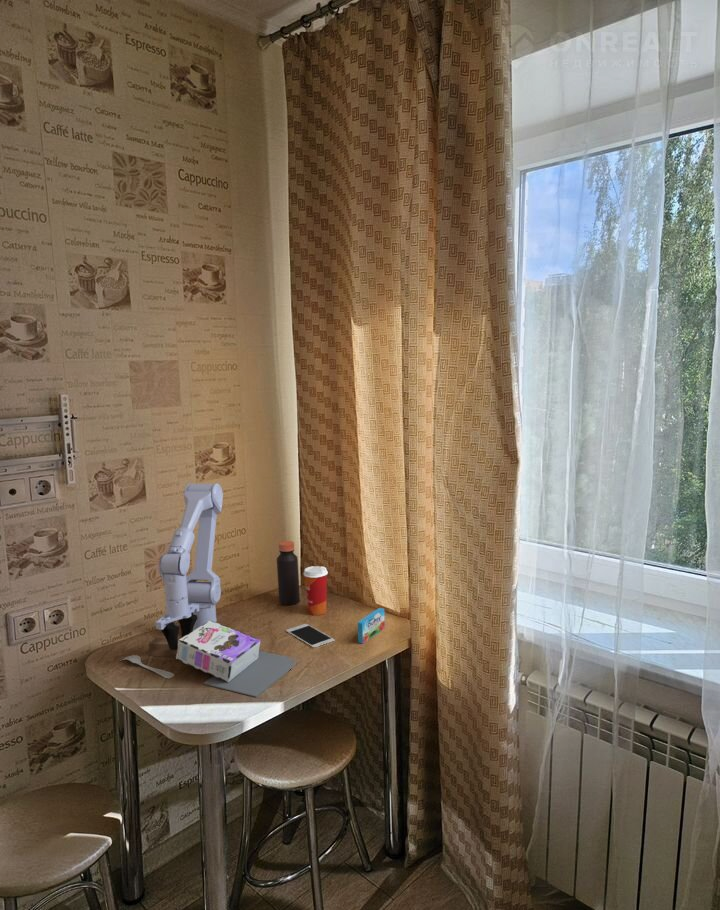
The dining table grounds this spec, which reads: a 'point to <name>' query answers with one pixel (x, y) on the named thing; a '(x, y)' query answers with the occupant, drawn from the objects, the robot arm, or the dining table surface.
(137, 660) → the fork
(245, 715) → the dining table surface
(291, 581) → the bottle
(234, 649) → the candy box
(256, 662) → the slate mat
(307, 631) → the smartphone
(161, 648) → the brown rectangular bar
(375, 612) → the blue fruit print box
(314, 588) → the paper cup
